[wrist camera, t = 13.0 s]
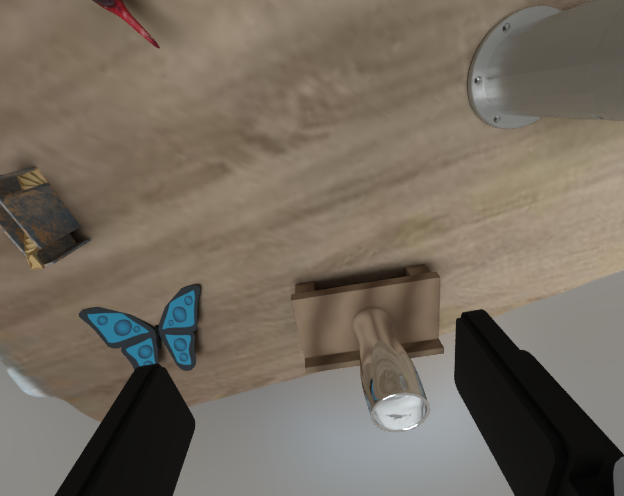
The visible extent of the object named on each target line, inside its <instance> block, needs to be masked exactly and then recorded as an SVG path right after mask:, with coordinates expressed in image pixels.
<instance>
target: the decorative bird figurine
mask: <svg viewBox="0 0 624 496" xmlns="http://www.w3.org/2000/svg"><path fill="white" fill-rule="evenodd" d="M93 1H94V2H95V3H97V4H98V5H100V6H101V7H103V8H105V9H106V10H108V11H110V12H112V13H114V14H116V15H118V16H119V17H121V18H122V19H123V20H124V21H126V22H127V23H128V24H129V25H130V26H132V27H133V28H134V29H135V30H136V31H137V32H138V33H140V34H141V35H142V36H143V37H144V38H145V39H147V40H148V41H149V42H150V43H152V44H153V45H154V46H155V47H157V48H160V47H159V45H158V44H157V42H156V41H155V40H154V39H153V38H152V37H151V36H150V34H149V33H148V32H147V31H146V30H145V29H144V28H143V27H142V26H141V25H140V24H139V23H138V22H137V20H136V19H135V18H134V17H133V16H132V15H131V14H130V12H129V11H128V10H127V8H126V6H125V5H124V3H123V1H122V0H93Z"/></svg>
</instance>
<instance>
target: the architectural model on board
mask: <svg viewBox="0 0 624 496" xmlns="http://www.w3.org/2000/svg"><path fill="white" fill-rule="evenodd" d="M80 227H81V226H80V225H79V224H78V222H77V221H76V220H75V218H74V217H73V216H72V214H71V213H70V212H69V210H68V209H67V208H66V206H65V205H64V204H63V202H62V201H61V200H60V198H59V197H58V196H57V194H56V193H55V192H54V190H53V189H52V188H51V186H50V185H49V182H47V181H46V179H45V178H44V177H43V175H42V174H41V173H40V171H39V170H38V169H37V167H34V168H29V169H25V170H21V171H16V172H12V173H8V174H3V175H0V228H1V229H2V230H3V231H4V233H5V234H6V235H7V236H8V237H9V238H10V239H11V241H12V242H13V243H14V244H15V245H16V246H17V247H18V248H19V250H20V251H21V252H22V253H23V254H24V255H25V256H26V257H27V260H28V262H29V265H30V267H31V270H36V269H37V270H38V269H43V268H44V267H46V266H49V265H51V264H54V263H56V262H57V261H59V260H61V259H62V258H64V257H65V256H67V255H68V254H70V253H72V252H73V251H75V250H76V249H78V248H79V247H81V246H83V245H84V244H86V243H87V242H89V241H90V240H91V239H90V238H89V239H87V240H84V241H81V242H78V243H76V242H75V240H74V239H73V238H72V236H71V235H70V234H69V233H71V232H73V231H75V230H77V229H78V228H80Z"/></svg>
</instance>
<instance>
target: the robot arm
mask: <svg viewBox="0 0 624 496" xmlns="http://www.w3.org/2000/svg"><path fill="white" fill-rule="evenodd" d="M502 28H503V29H502ZM475 79H476V82H474V81H475ZM468 96H469V100H470V104H471V106H472V108H473V110H474V112H475V114H476V115H477V116H478V117H479V118H480V119H481V120H482V121H483V122H485V123H486V124H488V125H490V126H493V127H496V128H502V129H515V128H520V127H524V126H527V125H529V124H532V123H534V122H535V121H537V120H539V119H541V118H542V117H550V118H573V119H595V120H617V121H624V0H592V1H590V2H587V3H584V4H581V5H579V6H576V7H573V8H570V9H568V10H565V11H561V10H559V9H557V8H555V7H551V6H545V5H541V6H532V7H529V8H525V9H522V10H520V11H518V12H515V13H513V14H511V15H510V16H508V17H507V18H505V19H504V20H502V21H501V22H500V23H498V24H497V25H496V26H495V27H494V28H493V29H492V30H491V31H490V32H489V33H488V35H487V36H486V37H485V38H484V40H483V41H482V43H481V44H480V46H479V48H478V49H477V51H476V53H475V56H474V58H473V60H472V63H471V67H470V71H469V76H468ZM494 118H495V119H494ZM455 342H456V343H455V371H454V380H455V384H456V387H457V390H458V391H459V394H460V395H461V397H462V399H463V401H464V403H465V405H466V406H467V408H468V410H469V412H470V414H471V416H472V418H473V419H474V421H475V423H476V425H477V427H478V429H479V430H480V432H481V434H482V436H483V438H484V440H485V441H486V443H487V445H488V447H489V449H490V451H491V452H492V454H493V456H494V458H495V460H496V461H497V464H498V465H499V467H500V469H501V471H502V473H503V475H504V476H505V478H506V480H507V482H508V484H509V486H510V487H511V489H512V491H513V493H514V495H515V496H624V454H623V453H622V452H621V451H620V450H619V449H618V448H617V447H616V446H615V444H614V443H613V442H612V441H611V440H610V439H609V438H608V437H607V436H606V435H605V434H604V432H603V431H602V430H601V429H600V428H599V427H598V426H597V425H596V424H595V423H594V422H593V420H592V419H591V418H590V417H589V416H588V415H587V414H586V413H585V412H584V411H583V410H582V409H581V407H579V405H578V404H577V403H576V402H575V401H574V400H573V399H572V398H571V397H570V395H569V394H568V393H567V392H566V391H565V390H564V389H563V388H562V387H561V386H560V385H559V384H558V383H557V381H556V380H555V379H554V378H553V377H552V376H551V375H550V374H549V373H548V372H547V371H546V370H545V368H544V367H543V366H542V365H541V364H540V363H539V362H538V361H537V360H536V358H535V357H534V356H532V355H531V354H530V353H529V352H527V351H525V350H520V349H519V348H518V347H517V346H516V345H515V344H514V343H513V342H512V340H511V339H510V338H509V337H508V336H507V335H506V334H505V333H504V332H503V330H502V329H501V328H500V327H499V326H498V325H497V324H496V323H495V321H494V320H493V319H492V318H491V317H490V316H489V314H488V313H487V312H486V311H484V310H482V309H480V310H474V311H468V312H463V313H462V314H461V318H457V320H456V339H455ZM194 430H195V419H194V417H193V415H192V413H191V412H190V410H189V408H188V406H187V405H186V403H185V401H184V399H183V398H182V396H181V394H180V392H179V391H178V389H177V387H176V385H175V384H174V382H173V380H172V378H171V377H170V375H169V373H168V372H167V370H166V368H164V367H161V365H160V364H158V363H157V364H150V365H144V366H139V367H137V368H136V369H135V370H134V372H133V374H132V375H131V377H130V378H129V380H128V381H127V383H126V385H125V386H124V388H123V389H122V391H121V392H120V394H119V395H118V397H117V399H116V400H115V402H114V403H113V405H112V406H111V408H110V410H109V411H108V413H107V414H106V416H105V417H104V419H103V421H102V422H101V424H100V425H99V427H98V429H97V430H96V432H95V433H94V435H93V436H92V438H91V440H90V441H89V443H88V444H87V446H86V447H85V449H84V451H83V452H82V454H81V455H80V457H79V458H78V460H77V461H76V463H75V464H74V466H73V468H72V469H71V471H70V472H69V474H68V476H67V477H66V479H65V480H64V482H63V484H62V485H61V486H60V488H59V490H58V491H57V493H56V494H55V496H173V493H174V490H175V487H176V484H177V481H178V478H179V475H180V472H181V469H182V466H183V463H184V460H185V457H186V454H187V451H188V448H189V445H190V442H191V439H192V436H193V433H194Z"/></svg>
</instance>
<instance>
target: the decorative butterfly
mask: <svg viewBox="0 0 624 496" xmlns="http://www.w3.org/2000/svg"><path fill="white" fill-rule="evenodd" d="M199 295H200V287H199V286H197V285H195V286H187V287H184V288H181V289H180V291H179V292H178V293H177V294H176V295H175V296H174V297H173V299H172V300H171V301H170V302H169V303H168V304H167V305H166V307H165V309H164V312H163V315H162V318H161V320H160V323H159V326H155V330H156V331H155V330H154V329H152V328H151V327H150V326H149V325H147V324H145V323H144V322H142V321H140V320H139V319H137V318H136V317H134V316H132V315H130V314H126V313H122V312H118V311H114V310H109V309H105V308H101V307H95V308H91V309H87V310H84V311H81V312H80V313H79V317H80V318H81V319H83V320H84V321H85V322H86V323H87V324H89V325H90V326H91V327H92V328H93V329H94V330H95V331H96V332H97V334H98V335H99V336H100V337H101V338H102V340H103V341H104V342H105V343H106V344H107V346H108V347H111V348H120V347H122V348H121V352H122V353H123V354H124V355H125V356H126V357H127V358H128V360H129V361H130V362H131V364H132V366H133V368H134V370H135V369H136V368H137V367H139V366H144V365H150V364H157V363H158V349H159V350H160V349H161V339H162V341H163V343H164V344H165V346H166V347H167V349H168V351H169V352H170V354H171V356H172V357H173V359H174V361H175V363H176V364H177V366H178V367H179V368H181V369H182V370H184V371H189V370H192V369H193V368H194V366H195V364H196V357H195V351H194V343H195V335H194V333H192V332H194V331H195V330H196V328H197V306H198V299H199ZM159 335H160V336H159ZM160 337H161V339H160Z"/></svg>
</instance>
